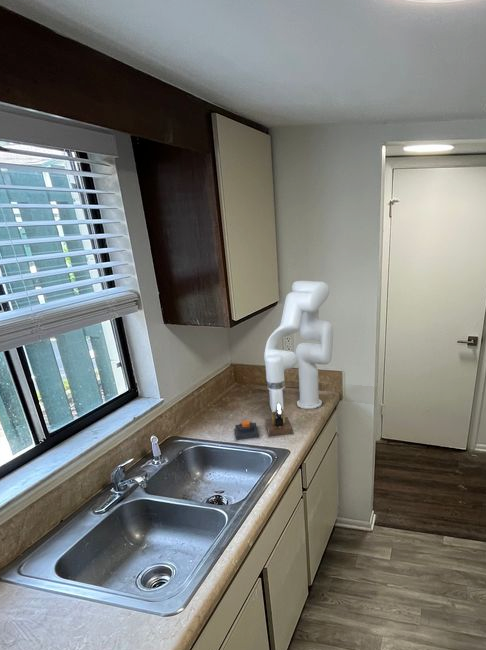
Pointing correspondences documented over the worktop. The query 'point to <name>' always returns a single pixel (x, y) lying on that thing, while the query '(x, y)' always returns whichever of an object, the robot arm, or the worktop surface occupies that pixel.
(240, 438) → the doorbell
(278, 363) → the robot arm
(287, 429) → the plate
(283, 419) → the lock knob
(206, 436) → the worktop surface
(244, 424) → the bell button
